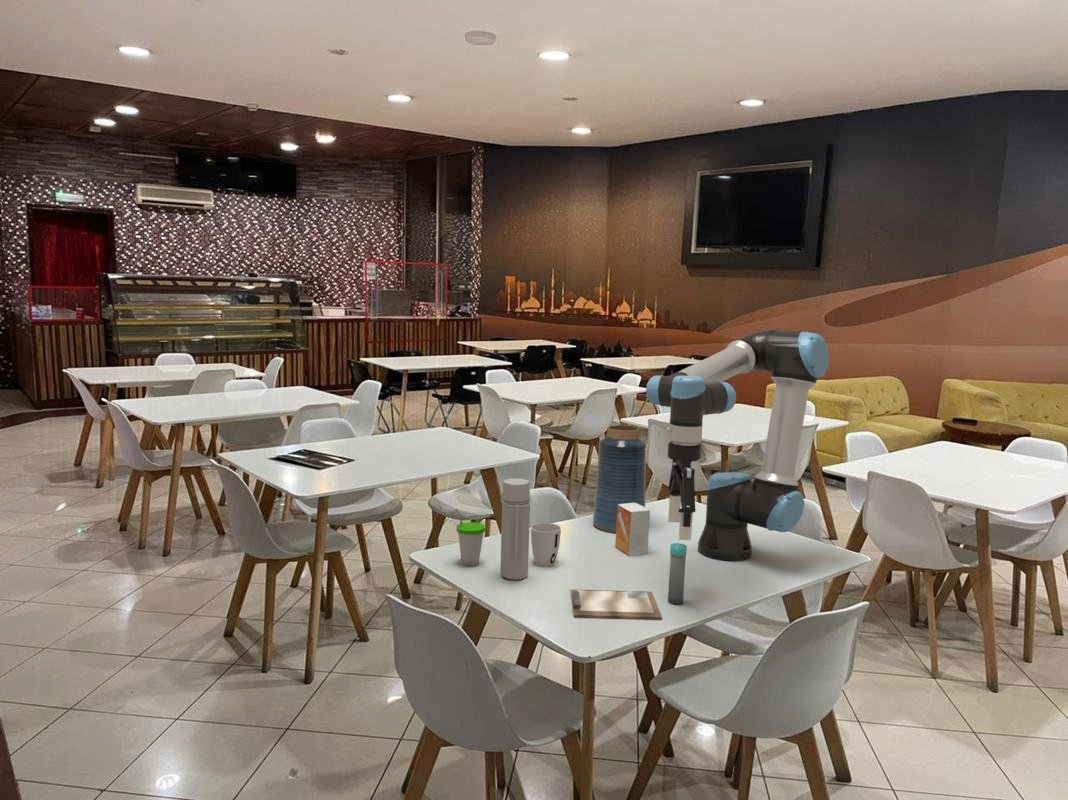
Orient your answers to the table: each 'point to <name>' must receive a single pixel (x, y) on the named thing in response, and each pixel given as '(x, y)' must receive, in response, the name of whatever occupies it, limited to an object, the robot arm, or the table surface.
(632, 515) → the small box
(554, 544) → the cup
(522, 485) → the water bottle
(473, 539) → the cup
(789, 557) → the table surface
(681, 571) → the marker
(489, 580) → the table surface
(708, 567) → the table surface
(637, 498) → the vase
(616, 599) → the tan flat rectangular tray
